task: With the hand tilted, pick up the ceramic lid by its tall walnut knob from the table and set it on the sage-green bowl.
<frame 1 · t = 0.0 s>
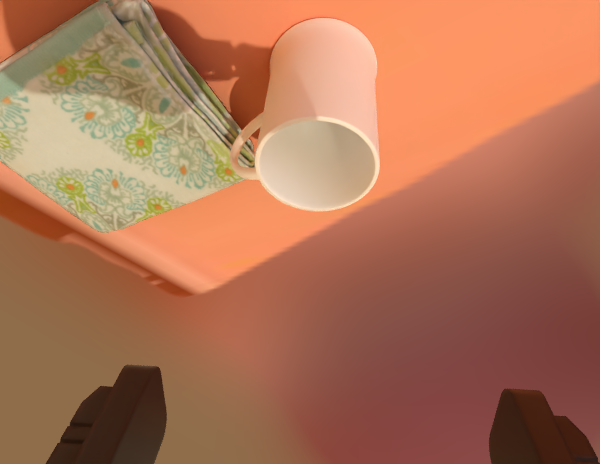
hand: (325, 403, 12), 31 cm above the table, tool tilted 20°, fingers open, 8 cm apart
mug: (304, 74, 41), on the table
towel: (119, 117, 45), on the table
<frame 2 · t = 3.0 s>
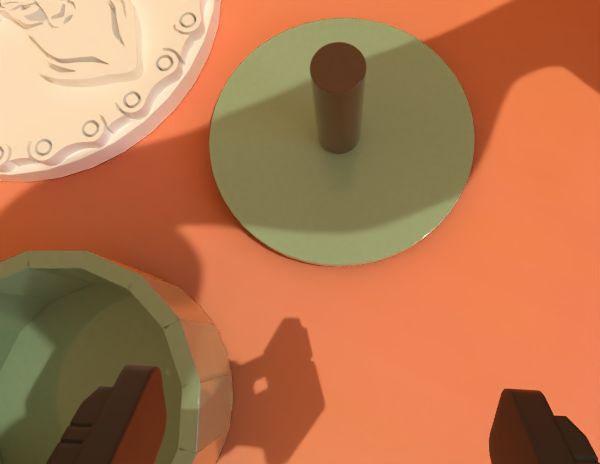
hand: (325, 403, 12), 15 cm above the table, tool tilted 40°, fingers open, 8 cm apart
lid: (339, 138, 28), point 1 cm above the table
bowl: (108, 396, 27), on the table
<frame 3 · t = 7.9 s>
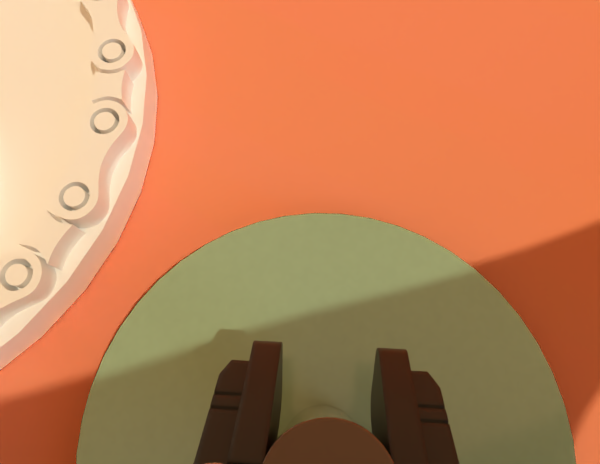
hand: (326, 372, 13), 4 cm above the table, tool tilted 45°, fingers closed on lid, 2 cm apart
lid: (322, 445, 15), point 1 cm above the table, touching gripper
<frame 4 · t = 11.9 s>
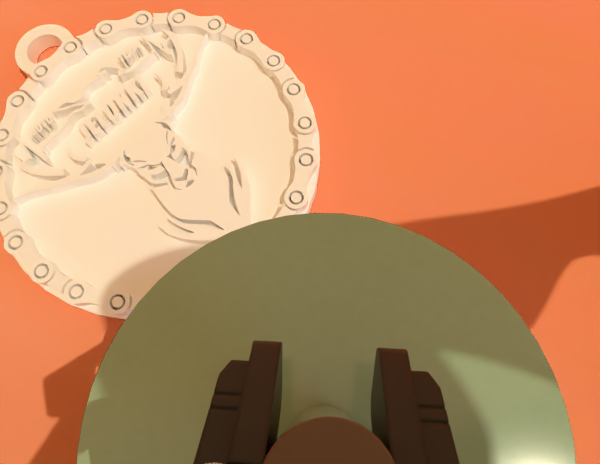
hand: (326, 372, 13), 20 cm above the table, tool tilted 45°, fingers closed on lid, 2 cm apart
lid: (322, 445, 15), point 17 cm above the table, touching gripper
medallion: (146, 148, 37), on the table
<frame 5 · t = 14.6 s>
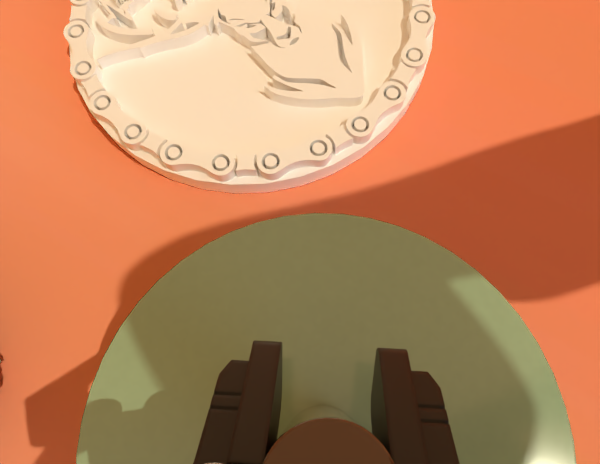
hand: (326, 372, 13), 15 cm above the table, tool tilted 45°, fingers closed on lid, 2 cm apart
lid: (322, 445, 15), point 11 cm above the table, touching gripper
medallion: (234, 18, 34), on the table
when the fingers open (10 cm above the table, at t = 16.2 s): lid stays where it is, resting on bowl.
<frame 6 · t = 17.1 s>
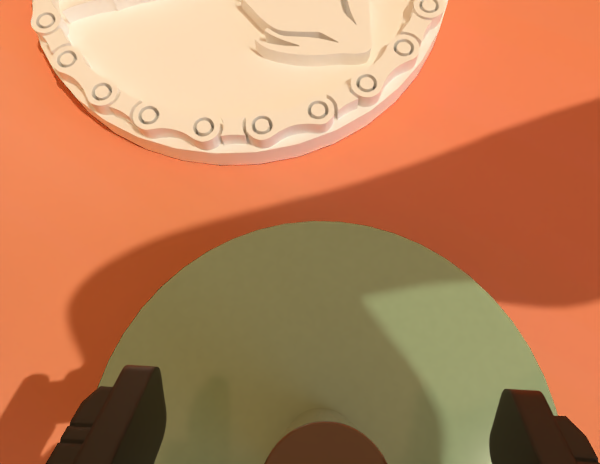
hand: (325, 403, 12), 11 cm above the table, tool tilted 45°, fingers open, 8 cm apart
lid: (320, 447, 16), point 6 cm above the table, touching bowl
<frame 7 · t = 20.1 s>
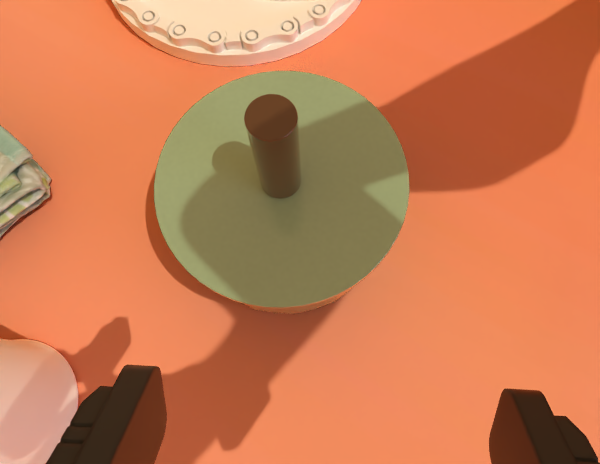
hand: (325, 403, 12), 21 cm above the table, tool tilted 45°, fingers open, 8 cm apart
lid: (281, 183, 29), point 6 cm above the table, touching bowl
bowl: (286, 218, 36), on the table
mug: (1, 387, 33), on the table
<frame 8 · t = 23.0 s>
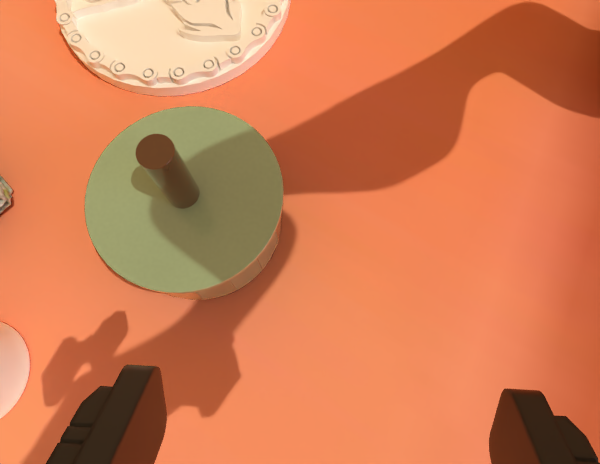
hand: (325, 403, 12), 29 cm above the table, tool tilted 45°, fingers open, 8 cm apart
lid: (185, 196, 37), point 6 cm above the table, touching bowl
bowl: (203, 222, 44), on the table
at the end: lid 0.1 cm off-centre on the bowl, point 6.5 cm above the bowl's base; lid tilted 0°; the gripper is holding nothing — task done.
